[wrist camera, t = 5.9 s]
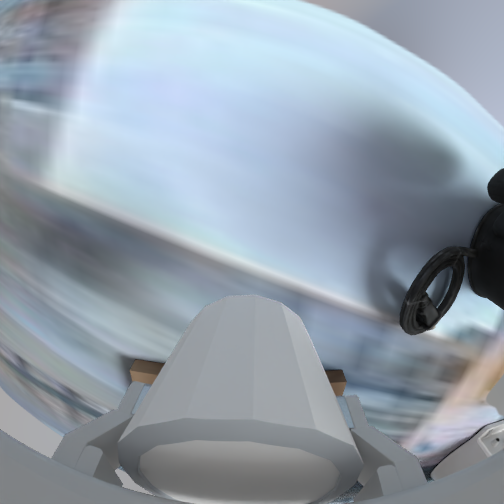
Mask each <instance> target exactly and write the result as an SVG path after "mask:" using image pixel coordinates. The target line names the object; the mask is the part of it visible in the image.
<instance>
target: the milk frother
mask: <svg viewBox="0 0 504 504" xmlns="http://www.w3.org/2000/svg"><path fill="white" fill-rule="evenodd" d="M487 190H488V194H489V196H490V198H491V199H492V200H493V201H495V202H497V203H501V204H499V205H497V206H495V207H493V208H492V209H491V210H490V211H489V212H487V214H486V215H485V216H484V217H483V219H482V220H481V222H480V224H479V225H478V227H477V230H476V232H475V234H474V238H473V240H472V243H471V247H470V249H469V248H466V247H447V248H445V249H443V250H442V251H440V252H438V253H437V254H436V255H435V256H433V257H432V258H431V259H430V260H429V261H428V262H427V263H426V265H425V266H424V267H423V268H422V269H421V271H420V272H419V274H418V275H417V277H416V278H415V280H414V281H413V283H412V285H411V287H410V289H409V291H408V293H407V295H406V297H405V300H404V302H403V305H402V309H401V312H400V325H401V327H402V329H403V330H404V331H405V332H406V333H407V334H410V335H416V334H420V333H423V332H425V331H426V330H427V331H428V330H431V329H432V330H433V329H434V328H435V325H436V324H437V323H438V322H439V320H440V319H441V318H442V317H443V316H444V315H445V314H446V313H447V311H448V310H449V309H450V307H451V306H452V304H453V303H454V301H455V299H456V297H457V294H458V292H459V290H460V287H461V284H462V281H463V276H464V269H465V263H464V258H463V256H467V257H469V258H468V274H469V281H470V284H471V287H472V289H473V290H474V292H475V293H476V294H477V295H478V296H480V297H484V298H487V299H489V300H490V301H492V302H493V303H495V304H496V305H498V306H499V307H500V308H502V309H503V310H504V168H503V169H501V170H499V171H498V172H497V173H496V174H495V175H494V176H493V177H492V178H491V180H490V181H489V183H488V186H487ZM450 266H452V268H453V274H452V280H451V284H450V286H449V289H448V291H447V293H446V295H445V297H444V299H443V301H442V302H441V304H440V305H439V306H438V308H436V307H435V306H434V305H433V303H432V300H431V299H430V298H429V297H428V294H427V293H426V290H427V288H428V287H429V286H430V284H431V282H432V281H433V280H434V278H435V277H436V276H437V274H438V273H439V272H440V271H441V270H443V269H445V268H447V267H450Z"/></svg>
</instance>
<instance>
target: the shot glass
mask: <svg viewBox="0 0 504 504" xmlns="http://www.w3.org/2000/svg"><path fill="white" fill-rule="evenodd" d="M118 458H119V464H120V465H121V466H122V467H123V469H124V470H125V471H126V472H127V474H128V475H129V476H130V477H131V478H132V479H133V481H134V482H135V483H136V484H138V485H139V486H141V487H142V488H144V489H145V490H147V491H149V492H150V493H152V494H153V495H155V496H157V497H162V498H166V499H171V500H176V501H182V502H188V503H194V504H327V503H329V502H331V501H333V500H335V499H336V498H338V497H339V496H340V495H342V494H343V493H344V492H346V491H347V490H348V489H350V488H351V487H352V486H354V485H355V483H356V481H357V479H358V477H359V475H360V473H361V471H362V469H363V466H364V464H363V461H362V459H361V456H360V454H359V451H358V449H357V446H356V444H355V442H354V439H353V437H352V434H351V432H350V430H349V427H348V425H347V422H346V420H345V418H344V415H343V413H342V410H341V408H340V406H339V403H338V401H337V399H336V396H335V394H334V392H333V389H332V387H331V385H330V382H329V380H328V378H327V375H326V373H325V371H324V368H323V366H322V364H321V361H320V359H319V357H318V354H317V352H316V350H315V348H314V345H313V343H312V341H311V338H310V336H309V334H308V332H307V330H306V328H305V326H304V324H303V322H302V320H301V318H300V317H299V316H298V315H297V314H295V313H294V312H293V311H291V310H290V309H289V308H288V307H286V306H285V305H284V304H283V303H281V302H278V301H275V300H272V299H268V298H265V297H261V296H258V295H240V296H227V297H225V298H223V299H220V300H218V301H216V302H214V303H211V304H209V305H207V306H205V307H204V308H203V309H202V310H201V311H200V312H199V314H198V315H197V316H196V317H195V318H194V319H193V320H192V321H191V322H190V324H189V326H188V327H187V329H186V330H185V332H184V334H183V335H182V337H181V338H180V340H179V342H178V343H177V345H176V347H175V348H174V350H173V351H172V353H171V355H170V356H169V358H168V360H167V361H166V363H165V365H164V366H163V368H162V369H161V371H160V373H159V374H158V376H157V378H156V379H155V381H154V383H153V384H152V386H151V388H150V389H149V391H148V393H147V394H146V396H145V398H144V399H143V401H142V403H141V404H140V406H139V408H138V409H137V411H136V413H135V414H134V416H133V418H132V419H131V421H130V423H129V424H128V426H127V428H126V429H125V431H124V433H123V434H122V436H121V438H120V439H119V441H118Z"/></svg>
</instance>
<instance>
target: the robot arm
mask: <svg viewBox="0 0 504 504" xmlns="http://www.w3.org/2000/svg"><path fill="white" fill-rule="evenodd" d="M151 386H152V384H147V383H141V382H137V381H133V382H132V383H131V384H130V386H129V388H128V390H127V392H126V394H125V395H124V397H123V399H122V401H121V403H120V405H119V407H118V409H117V410H112V411H110V412H108V413H106V414H104V415H102V416H100V417H99V418H97V419H95V420H93V421H91V422H89V423H87V424H85V425H83V426H81V427H79V428H77V429H75V430H73V431H71V432H69V433H67V434H65V436H64V438H63V440H62V441H61V443H60V445H59V446H58V448H57V450H56V452H55V453H54V455H53V457H52V458H49V457H46V456H45V455H43V454H41V453H39V452H37V451H35V450H33V449H32V448H30V447H28V446H26V445H25V444H23V443H21V442H20V441H18V440H16V439H15V438H13V437H11V436H10V435H8V434H7V433H5V432H4V431H2V430H1V429H0V504H194V503H188V502H182V501H176V500H171V499H166V498H162V497H157V496H153V495H149V494H145V493H141V492H137V491H134V490H130V489H126V488H124V487H122V485H123V483H122V482H121V480H120V479H119V477H118V476H117V474H116V473H115V470H116V469H117V468H118V467H120V466H121V465H120V464H119V458H118V441H119V439H120V438H121V436H122V434H123V433H124V431H125V429H126V428H127V426H128V424H129V423H130V421H131V419H132V418H133V416H134V414H135V413H136V411H137V409H138V408H139V406H140V404H141V403H142V401H143V399H144V398H145V396H146V394H147V393H148V391H149V389H150V388H151ZM336 399H337V401H338V403H339V406H340V408H341V410H342V413H343V415H344V418H345V420H346V422H347V425H348V427H349V430H350V432H351V434H352V437H353V439H354V442H355V444H356V446H357V449H358V451H359V454H360V456H361V459H362V461H363V464H364V466H363V469H362V471H361V473H360V475H359V477H358V479H357V480H358V481H359V482H360V483H361V484H362V485H363V486H364V487H363V488H362V489H361V490H360V492H359V493H358V494H357V495H356V496H355V497H354V498H353V500H354V502H351V503H345V504H504V420H502V421H499V422H496V423H493V424H490V425H487V426H485V427H484V428H483V429H482V430H481V431H479V432H478V433H477V434H476V435H475V436H474V437H473V438H472V439H470V440H469V441H468V442H466V443H465V444H463V445H462V446H461V447H459V448H458V449H456V450H455V451H454V452H453V453H451V454H450V455H449V456H448V457H446V458H445V459H444V460H443V461H442V462H441V463H440V464H438V465H437V466H436V468H435V469H434V470H433V471H432V473H431V475H430V476H431V478H432V479H433V480H434V481H432V482H430V483H427V481H426V478H425V476H424V473H423V471H422V468H421V466H420V463H419V461H418V458H417V457H416V456H414V455H413V454H411V453H410V452H409V451H407V450H406V449H404V448H403V447H401V446H400V445H398V444H397V443H396V442H394V441H393V440H391V439H390V438H389V437H387V436H386V435H384V434H383V433H382V432H380V431H379V430H377V429H376V428H375V427H373V426H369V425H368V422H367V419H366V417H365V414H364V411H363V408H362V406H361V403H360V400H359V398H358V396H357V395H347V396H336Z"/></svg>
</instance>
